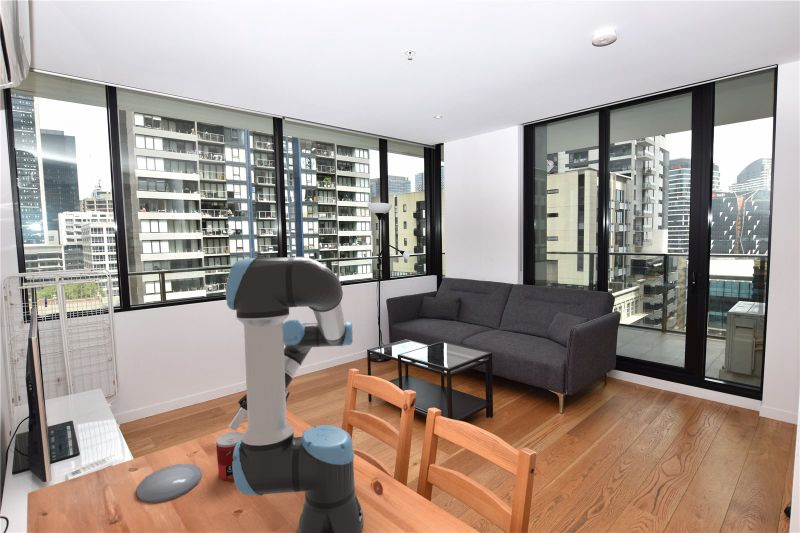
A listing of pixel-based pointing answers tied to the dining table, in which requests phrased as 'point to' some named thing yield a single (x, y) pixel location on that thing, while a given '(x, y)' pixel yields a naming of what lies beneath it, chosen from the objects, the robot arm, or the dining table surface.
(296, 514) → the dining table surface
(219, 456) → the canned food
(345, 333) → the robot arm
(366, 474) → the dining table surface
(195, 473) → the slate plate
